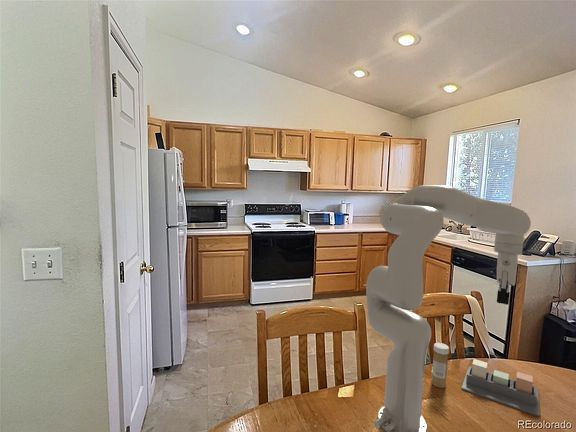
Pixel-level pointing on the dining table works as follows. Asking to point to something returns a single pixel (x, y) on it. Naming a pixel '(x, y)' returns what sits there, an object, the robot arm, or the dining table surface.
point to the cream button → (479, 369)
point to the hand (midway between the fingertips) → (502, 302)
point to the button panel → (502, 392)
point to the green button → (500, 378)
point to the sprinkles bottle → (440, 365)
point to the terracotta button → (524, 383)
